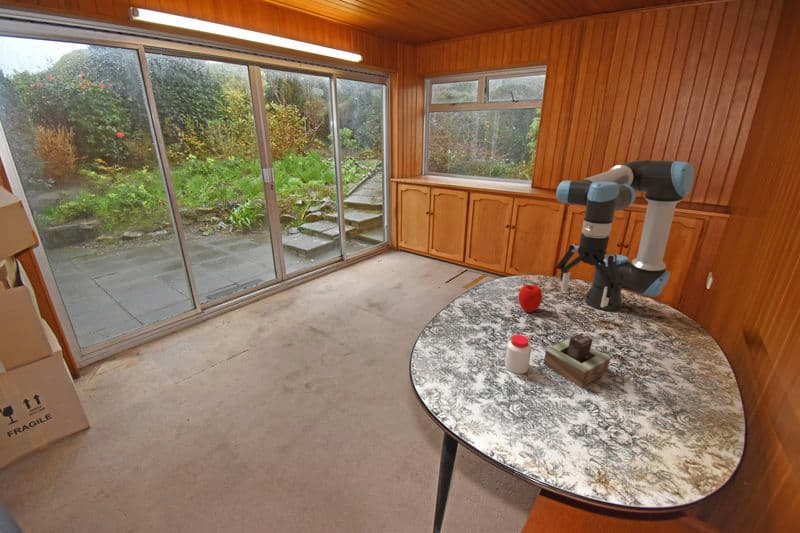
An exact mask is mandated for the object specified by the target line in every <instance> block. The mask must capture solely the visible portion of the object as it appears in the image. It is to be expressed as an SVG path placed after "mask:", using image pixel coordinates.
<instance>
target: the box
mask: <svg viewBox="0 0 800 533" xmlns="http://www.w3.org/2000/svg"><path fill="white" fill-rule="evenodd" d="M569 338H570V342H569V346H568V351H567V356H569V357H571V358H573V359H575V360H576V361H578V362H580V363H583V362H585V361H587V359H588V355H589V351H590V348H591V347H592V344H593V338H591V337H590V336H588V335H586V334H584V333H583V332H582V333H580V334H575V335H574V336H572V337H569Z"/></svg>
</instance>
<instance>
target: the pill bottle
mask: <svg viewBox="0 0 800 533" xmlns="http://www.w3.org/2000/svg"><path fill="white" fill-rule="evenodd" d="M510 338H511V339H510V340H509V341H507V344H506V351H505V360H504V367H505V368H506V370H507V371H509V372H511V373H514V374H519V375H520V374H525V373H527V372H528V371H529V369H530V368H529V367H530V360H531V355H532V354H531V353H532V345H531V344H530V343H529V342H530V340H529V338H528V337H527V336H525V335H522V334H514V335H512V336H511V337H510Z"/></svg>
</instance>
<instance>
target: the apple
mask: <svg viewBox="0 0 800 533" xmlns="http://www.w3.org/2000/svg"><path fill="white" fill-rule="evenodd" d="M517 299H518V302H519V306H520V307H521V309H522V310H523V311H525V312H526V313H532V312H534V311H536V310H537V309H538V308H539V306H540V305H541V303H542V301H543V291H542V289H541V288H540V287H539V286H538V285H533V284H532V285H531V284H526V285H524V286H522V287H521V288H520V290H519V292H518V298H517Z"/></svg>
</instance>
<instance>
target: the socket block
mask: <svg viewBox="0 0 800 533" xmlns="http://www.w3.org/2000/svg"><path fill="white" fill-rule="evenodd" d="M570 338H571V337H569V338H567V339H565V340H562V341H561V342H558V343H557V344H554V345H552V346H550V347H548V348H546V349H545V354H544V361H543V365H544V366H546V367H548V368H549V369H551V370H552V371H554V372H555V373H558V374H559V375H561V376H562V377H564V378H566V380H569V382H572V383H573V384H575V385H577V386H578V387H580V388H583V387H585V386H588V384H589V383H592V382H594V381H595V380H596V379H598V378H600V377H601V376H604V375H605V374H607V373H608V369H609V366H610V361H611V356H609V355H607V354H605V353H603V352H602V351H600V350H597V349H596V348H594V347H592V346H591V348H590V351H589V355H588V359H587V361H585V362H583V363H580V362H578V361H576V360H575V359H573V358H571V357H569V356H567V351H568V346H569V342H570Z"/></svg>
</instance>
